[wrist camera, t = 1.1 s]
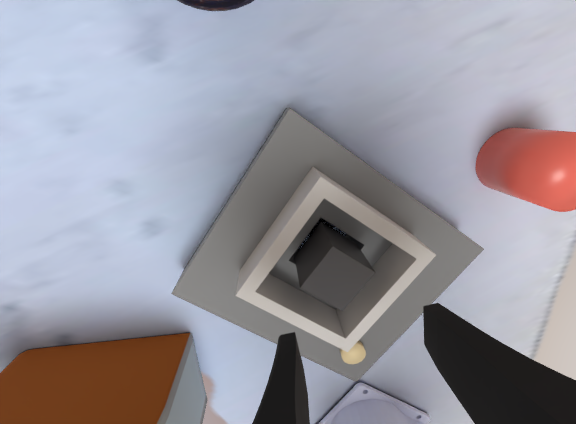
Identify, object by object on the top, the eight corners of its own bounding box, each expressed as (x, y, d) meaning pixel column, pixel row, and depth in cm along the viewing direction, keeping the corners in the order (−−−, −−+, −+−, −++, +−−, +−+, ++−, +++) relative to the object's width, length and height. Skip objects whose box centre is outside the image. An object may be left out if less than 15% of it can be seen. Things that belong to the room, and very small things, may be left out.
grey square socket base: (456, 231, 22) (516, 270, 17) (346, 352, 26) (367, 416, 20) (286, 108, 18) (294, 107, 13) (183, 270, 22) (156, 322, 16)
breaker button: (357, 244, 19) (375, 272, 16) (330, 277, 20) (342, 311, 16) (320, 221, 18) (332, 246, 15) (294, 257, 19) (300, 288, 16)
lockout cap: (548, 150, 21) (631, 163, 16) (502, 199, 22) (567, 225, 17) (508, 114, 20) (585, 116, 15) (463, 168, 21) (520, 185, 16)
